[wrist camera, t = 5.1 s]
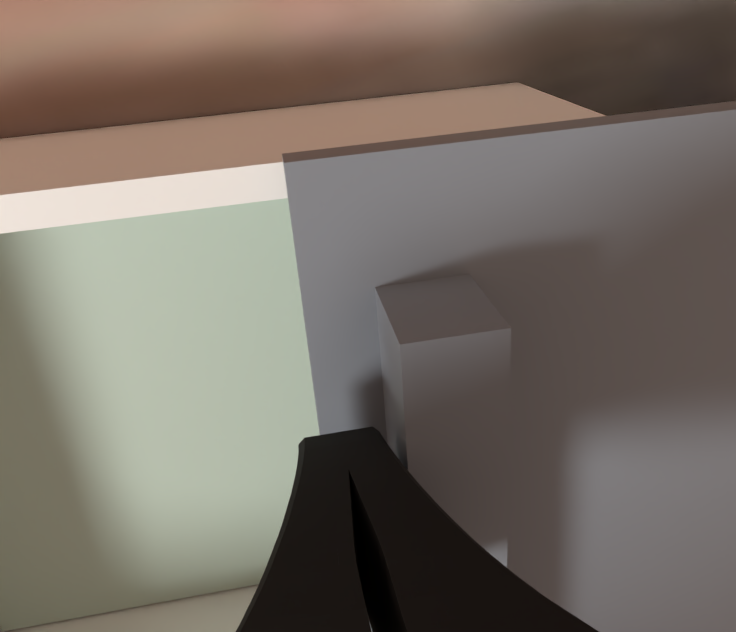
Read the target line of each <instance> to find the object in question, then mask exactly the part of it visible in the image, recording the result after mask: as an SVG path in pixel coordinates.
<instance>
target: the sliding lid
mask: <svg viewBox="0 0 736 632" xmlns="http://www.w3.org/2000/svg"><path fill="white" fill-rule="evenodd" d="M282 159H283V166H284V174H285V181H286V189H287V196H288V203H289V211H290V218H291V226H292V233H293V241H294V248H295V256H296V263H297V271H298V278H299V285H300V293H301V300H302V308H303V315H304V323H305V330H306V338H307V345H308V352H309V360H310V367H311V375H312V382H313V390H314V397H315V405H316V412H317V419H318V427H319V434H320V435H324V434H330V433H336V432H342V431H348V430H354V429H360V428H366V427H374V428H375V429H377V430H378V431H380V433H381V435H382V436H383V438H384V439H385V441H386V442H387V444H388V445H389V447H390V448H391V450H392V451H393V452H394V454H395V455H396V456H397V458H398V459H399V460H400V461H401V463H402V464H403V465H404V466H405V468H406V469H407V470H408V471H409V473H410V474H411V475H412V476H413V477H414V478H415V480H416V481H417V482H418V483H419V484H420V485H421V486H422V488H423V489H424V490H425V491H426V492H427V493H428V494H429V495H430V496H431V497H432V498H433V500H434V501H435V502H436V503H437V504H438V505H439V506H440V507H441V508H442V509H443V510H444V511H445V512H446V513H447V514H448V515H449V516H450V517H451V518H452V519H453V520H454V521H455V522H456V523H457V524H458V525H459V526H460V527H461V528H462V529H463V530H464V531H465V532H466V533H467V534H468V535H469V536H470V537H472V538H473V539H474V540H475V541H476V542H477V543H478V544H479V545H480V546H482V547H483V548H484V549H485V550H486V551H487V552H489V553H490V554H491V555H492V556H493V557H494V558H496V559H497V560H498V561H499V562H501V563H502V564H503V565H504V566H506V567H507V568H508V569H509V570H510V571H512V572H513V573H514V574H515V575H517V576H518V577H519V578H521V579H522V580H523V581H525V582H526V583H527V584H529V585H530V586H532V587H533V588H534V589H536V590H537V591H538V592H540V593H541V594H542V595H544V596H545V597H547V598H548V599H550V600H551V601H553V602H554V603H556V604H557V605H559V606H560V607H562V608H563V609H565V610H567V611H568V612H570V613H571V614H573V615H574V616H576V617H577V618H579V619H580V620H582V621H583V622H585V623H587V624H588V625H590V626H591V627H593V628H594V629H596V630H597V631H599V632H736V101H730V102H721V103H713V104H704V105H695V106H687V107H678V108H670V109H661V110H652V111H644V112H635V113H627V114H618V115H610V116H601V117H592V118H584V119H575V120H567V121H558V122H550V123H541V124H532V125H524V126H515V127H507V128H498V129H489V130H481V131H472V132H464V133H455V134H447V135H438V136H429V137H421V138H412V139H404V140H395V141H387V142H378V143H369V144H361V145H352V146H344V147H335V148H326V149H318V150H309V151H301V152H292V153H284V154H282ZM370 627H371V625H370ZM371 631H372V629H371Z"/></svg>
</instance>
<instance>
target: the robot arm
mask: <svg viewBox="0 0 736 632" xmlns="http://www.w3.org/2000/svg"><path fill="white" fill-rule="evenodd" d="M370 625H371V627H370ZM371 629H372V631H371ZM236 632H599V631H597V630H596V629H594V628H593V627H591V626H590V625H588V624H587V623H585V622H583V621H582V620H580V619H579V618H577V617H576V616H574V615H573V614H571V613H570V612H568V611H567V610H565V609H563V608H562V607H560V606H559V605H557V604H556V603H554V602H553V601H551V600H550V599H548V598H547V597H545V596H544V595H542V594H541V593H540V592H538V591H537V590H536V589H534V588H533V587H532V586H530V585H529V584H527V583H526V582H525V581H523V580H522V579H521V578H519V577H518V576H517V575H515V574H514V573H513V572H512V571H510V570H509V569H508V568H507V567H506V566H504V565H503V564H502V563H501V562H499V561H498V560H497V559H496V558H494V557H493V556H492V555H491V554H490V553H489V552H487V551H486V550H485V549H484V548H483V547H482V546H480V545H479V544H478V543H477V542H476V541H475V540H474V539H473V538H472V537H470V536H469V535H468V534H467V533H466V532H465V531H464V530H463V529H462V528H461V527H460V526H459V525H458V524H457V523H456V522H455V521H454V520H453V519H452V518H451V517H450V516H449V515H448V514H447V513H446V512H445V511H444V510H443V509H442V508H441V507H440V506H439V505H438V504H437V503H436V502H435V501H434V500H433V498H432V497H431V496H430V495H429V494H428V493H427V492H426V491H425V490H424V489H423V488H422V486H421V485H420V484H419V483H418V482H417V481H416V480H415V478H414V477H413V476H412V475H411V474H410V473H409V471H408V470H407V469H406V468H405V466H404V465H403V464H402V463H401V461H400V460H399V459H398V458H397V456H396V455H395V454H394V452H393V451H392V450H391V448H390V447H389V445H388V444H387V442H386V441H385V439H384V438H383V436H382V435H381V433H380V431H378V430H377V429H375V428H374V427H366V428H360V429H354V430H348V431H342V432H336V433H330V434H324V435H317V436H311V437H305V438H304V439H303V440H302V441H301V442H300V443H299V444H298V462H297V469H296V474H295V479H294V483H293V488H292V492H291V496H290V499H289V502H288V506H287V509H286V512H285V516H284V519H283V523H282V526H281V529H280V532H279V535H278V537H277V540H276V542H275V545H274V548H273V550H272V553H271V556H270V558H269V561H268V563H267V566H266V569H265V571H264V573H263V576H262V578H261V580H260V583H259V585H258V587H257V589H256V592H255V594H254V596H253V598H252V600H251V602H250V604H249V606H248V608H247V610H246V612H245V614H244V617H243V619H242V621H241V623H240V624H239V626H238V628H237V630H236Z"/></svg>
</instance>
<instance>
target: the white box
mask: <svg viewBox="0 0 736 632" xmlns="http://www.w3.org/2000/svg"><path fill="white" fill-rule="evenodd" d="M601 116H605V115H603V114H600V113H597V112H595V111H592V110H589V109H587V108H584V107H582V106H579V105H576V104H574V103H571V102H568V101H566V100H563V99H560V98H558V97H555V96H552V95H550V94H547V93H545V92H542V91H539V90H537V89H534V88H531V87H529V86H526V85H523V84H521V83H518V82H515V83H506V84H497V85H488V86H479V87H469V88H460V89H451V90H442V91H433V92H424V93H414V94H405V95H396V96H387V97H378V98H369V99H360V100H350V101H341V102H332V103H323V104H314V105H305V106H295V107H286V108H277V109H268V110H259V111H250V112H240V113H231V114H222V115H213V116H204V117H195V118H185V119H176V120H167V121H158V122H149V123H140V124H131V125H121V126H112V127H103V128H94V129H85V130H76V131H66V132H57V133H48V134H39V135H30V136H21V137H11V138H2V139H0V632H236V630H237V628H238V626H239V624H240V623H241V621H242V619H243V617H244V614H245V612H246V610H247V608H248V606H249V604H250V602H251V600H252V598H253V596H254V594H255V592H256V589H257V587H258V585H259V583H260V580H261V578H262V576H263V573H264V571H265V569H266V566H267V563H268V561H269V558H270V556H271V553H272V550H273V548H274V545H275V542H276V540H277V537H278V535H279V532H280V529H281V526H282V523H283V519H284V516H285V512H286V509H287V506H288V502H289V499H290V496H291V492H292V488H293V483H294V479H295V474H296V469H297V462H298V444H299V443H300V442H301V441H302V440H303V439H304V438H305V437H311V436H317V435H320V434H319V427H318V419H317V412H316V405H315V397H314V390H313V382H312V375H311V367H310V360H309V352H308V345H307V338H306V330H305V323H304V315H303V308H302V300H301V293H300V285H299V278H298V271H297V263H296V256H295V248H294V241H293V233H292V226H291V218H290V211H289V203H288V196H287V189H286V181H285V174H284V166H283V159H282V154H284V153H292V152H301V151H309V150H318V149H326V148H335V147H344V146H352V145H361V144H369V143H378V142H387V141H395V140H404V139H412V138H421V137H429V136H438V135H447V134H455V133H464V132H472V131H481V130H489V129H498V128H507V127H515V126H524V125H532V124H541V123H550V122H558V121H567V120H575V119H584V118H592V117H601Z"/></svg>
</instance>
